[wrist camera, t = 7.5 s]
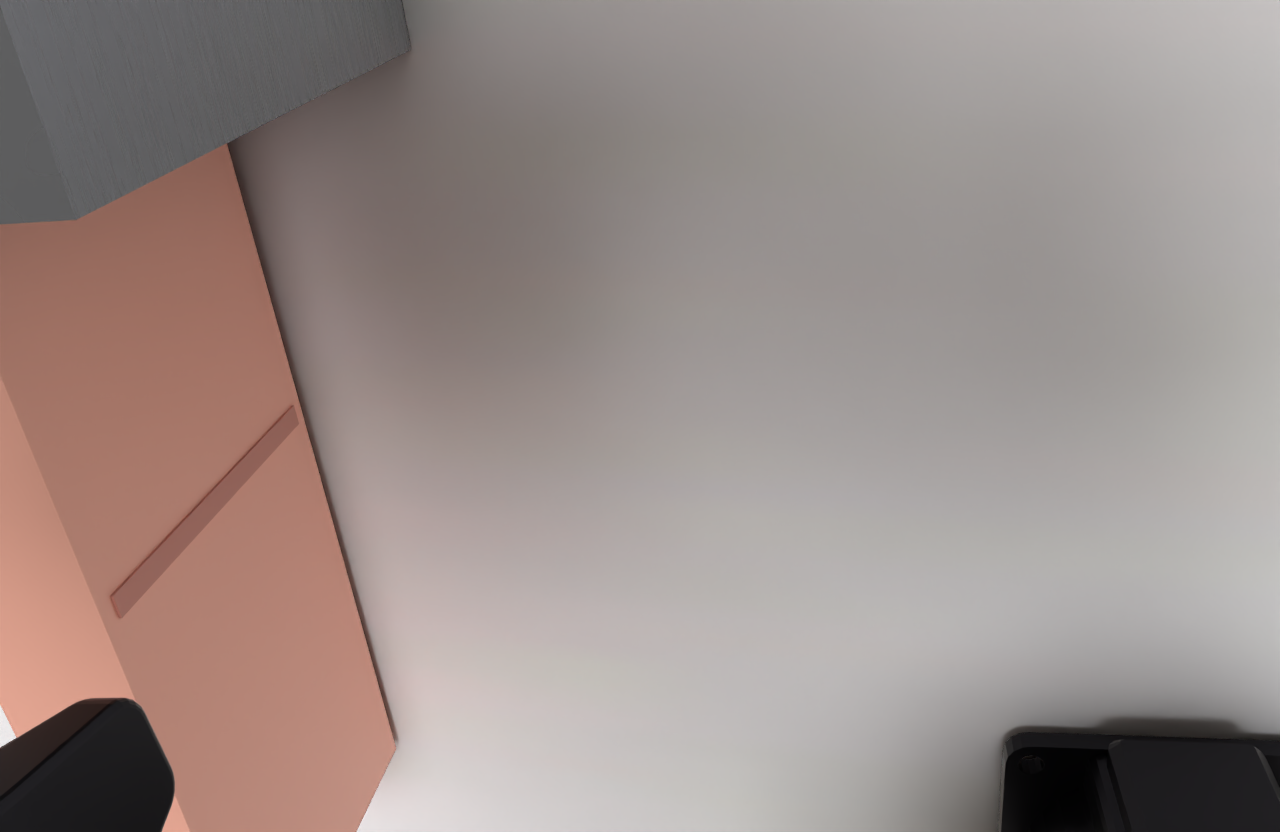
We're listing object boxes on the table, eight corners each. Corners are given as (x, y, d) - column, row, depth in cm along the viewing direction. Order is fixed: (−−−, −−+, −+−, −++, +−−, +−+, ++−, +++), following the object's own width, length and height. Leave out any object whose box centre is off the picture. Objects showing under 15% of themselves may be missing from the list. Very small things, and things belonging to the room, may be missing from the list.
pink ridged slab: (397, 748, 25) (269, 1016, 20) (299, 744, 26) (145, 1005, 20) (180, -30, 18) (-137, 37, 12) (46, -16, 18) (-323, 55, 12)
